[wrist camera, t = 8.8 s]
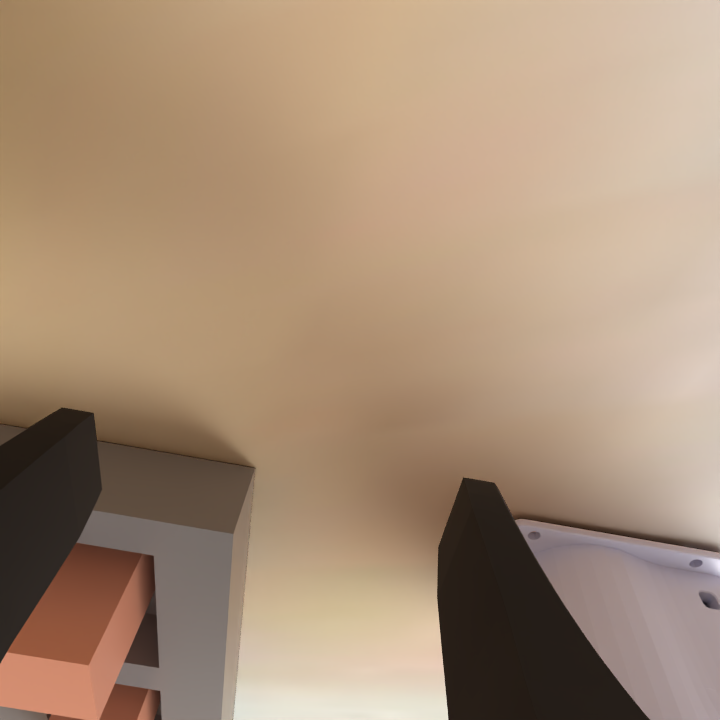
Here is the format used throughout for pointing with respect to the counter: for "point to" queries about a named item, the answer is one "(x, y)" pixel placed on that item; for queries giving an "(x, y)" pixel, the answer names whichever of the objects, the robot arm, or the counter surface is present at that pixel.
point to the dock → (173, 579)
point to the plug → (79, 634)
